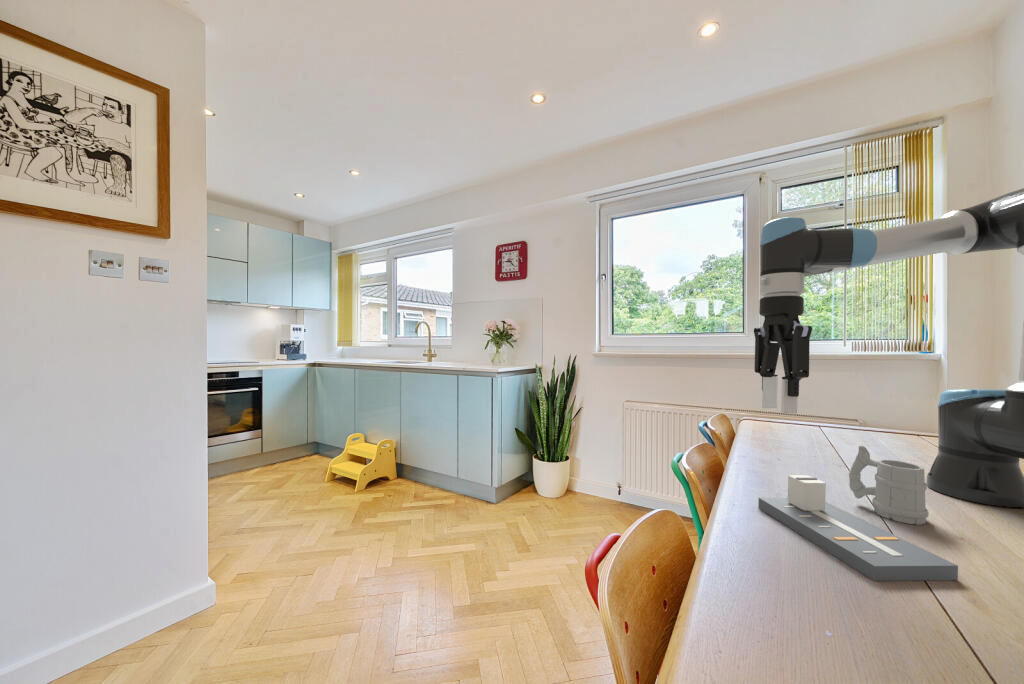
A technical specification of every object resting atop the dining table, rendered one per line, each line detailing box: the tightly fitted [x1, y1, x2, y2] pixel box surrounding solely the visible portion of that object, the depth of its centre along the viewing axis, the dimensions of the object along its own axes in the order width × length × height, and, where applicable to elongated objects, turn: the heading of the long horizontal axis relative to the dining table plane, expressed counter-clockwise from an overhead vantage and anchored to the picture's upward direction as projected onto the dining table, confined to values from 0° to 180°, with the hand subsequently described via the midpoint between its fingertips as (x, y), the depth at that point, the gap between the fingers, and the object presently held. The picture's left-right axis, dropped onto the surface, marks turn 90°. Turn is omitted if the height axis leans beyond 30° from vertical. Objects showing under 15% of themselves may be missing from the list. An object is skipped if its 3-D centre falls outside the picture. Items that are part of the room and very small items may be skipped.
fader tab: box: [787, 474, 827, 511], centre depth 74 cm, size 4×4×5 cm
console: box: [757, 497, 959, 582], centre depth 67 cm, size 12×24×2 cm, turn 3°
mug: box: [848, 444, 929, 526], centre depth 78 cm, size 8×12×12 cm, turn 28°
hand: (779, 410), depth 82 cm, fingers open, 5 cm apart
